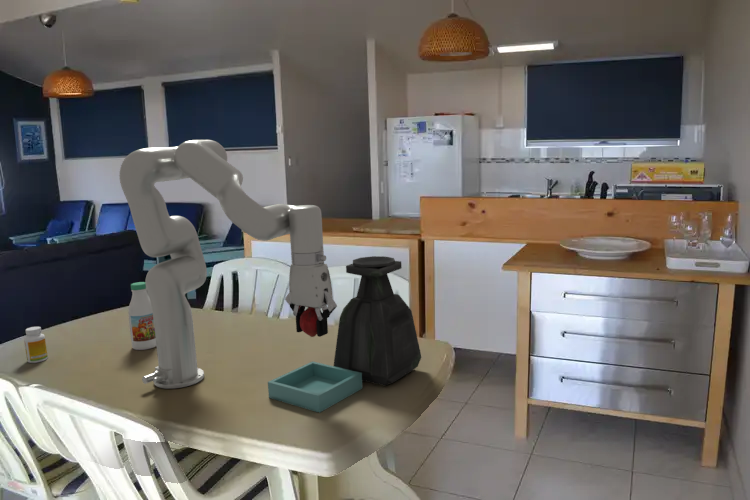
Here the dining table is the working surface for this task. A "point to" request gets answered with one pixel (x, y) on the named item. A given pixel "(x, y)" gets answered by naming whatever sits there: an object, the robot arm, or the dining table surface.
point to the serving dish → (315, 386)
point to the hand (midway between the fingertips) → (312, 332)
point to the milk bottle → (141, 318)
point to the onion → (309, 321)
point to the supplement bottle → (35, 345)
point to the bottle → (376, 326)
